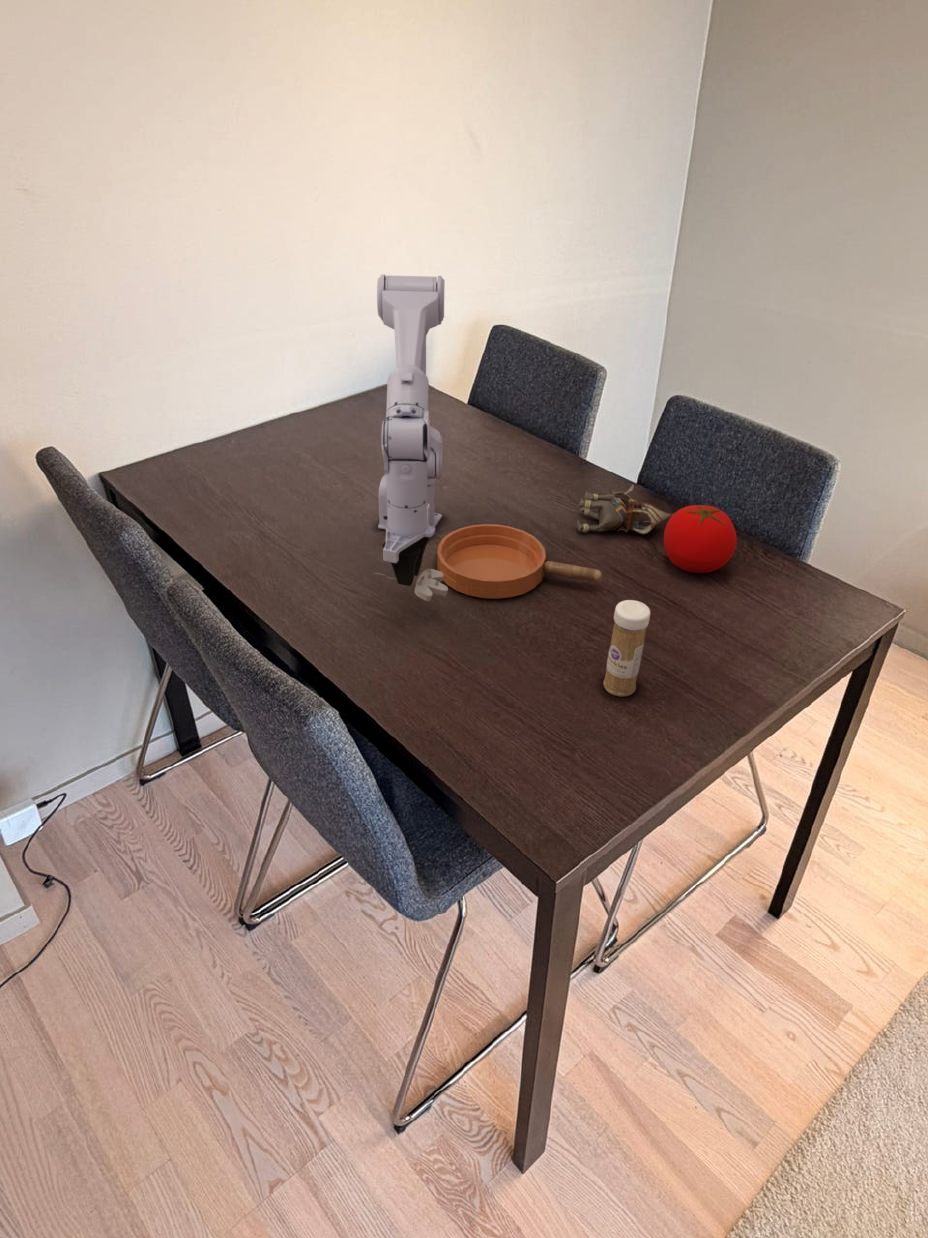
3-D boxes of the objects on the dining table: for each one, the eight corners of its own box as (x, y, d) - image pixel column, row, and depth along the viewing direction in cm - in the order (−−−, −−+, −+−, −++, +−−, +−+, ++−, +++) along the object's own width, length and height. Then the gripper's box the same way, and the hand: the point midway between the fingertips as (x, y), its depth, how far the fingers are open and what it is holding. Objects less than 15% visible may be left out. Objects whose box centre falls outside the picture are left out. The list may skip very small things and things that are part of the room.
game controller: (447, 604, 129) (447, 591, 128) (369, 601, 129) (368, 588, 127) (448, 578, 133) (448, 565, 132) (373, 575, 133) (372, 562, 132)
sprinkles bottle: (596, 688, 120) (608, 609, 113) (614, 672, 123) (627, 594, 115) (625, 703, 118) (639, 623, 110) (642, 686, 121) (657, 607, 113)
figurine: (586, 469, 163) (677, 481, 161) (582, 499, 166) (671, 510, 164) (576, 514, 147) (678, 528, 144) (572, 546, 150) (671, 560, 147)
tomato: (673, 586, 142) (685, 530, 135) (649, 547, 151) (659, 493, 145) (739, 582, 143) (753, 526, 137) (711, 543, 153) (723, 490, 147)
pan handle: (541, 574, 140) (542, 563, 139) (544, 568, 142) (545, 557, 141) (600, 585, 138) (601, 574, 137) (602, 578, 140) (603, 568, 139)
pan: (422, 588, 139) (422, 569, 137) (455, 534, 153) (456, 516, 151) (529, 609, 135) (531, 589, 133) (553, 552, 149) (555, 534, 147)
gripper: (416, 527, 117) (417, 610, 125) (449, 480, 128) (448, 559, 136) (367, 519, 118) (371, 601, 126) (404, 473, 129) (405, 551, 137)
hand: (408, 578), depth 131 cm, fingers closed on game controller, 2 cm apart
